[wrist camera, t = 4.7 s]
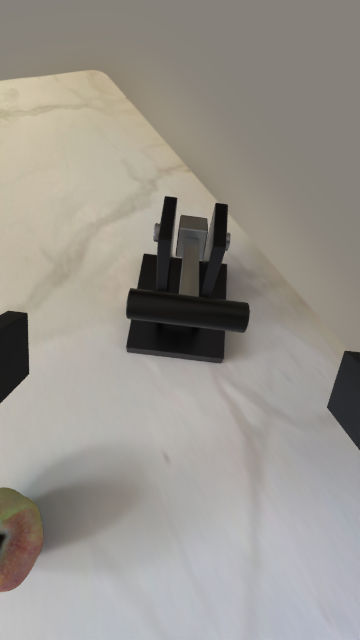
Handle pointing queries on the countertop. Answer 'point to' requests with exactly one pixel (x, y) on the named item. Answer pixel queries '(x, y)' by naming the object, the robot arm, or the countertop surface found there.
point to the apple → (18, 537)
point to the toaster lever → (188, 291)
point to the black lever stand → (165, 277)
